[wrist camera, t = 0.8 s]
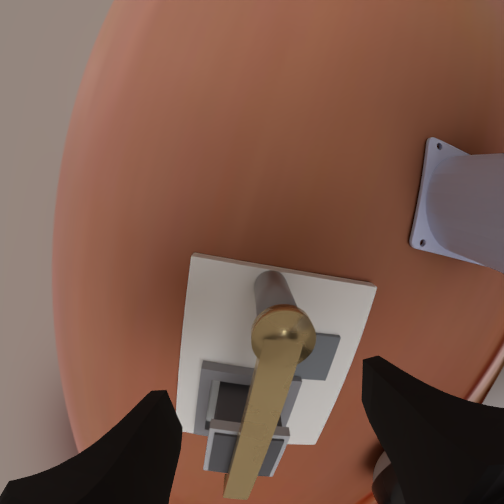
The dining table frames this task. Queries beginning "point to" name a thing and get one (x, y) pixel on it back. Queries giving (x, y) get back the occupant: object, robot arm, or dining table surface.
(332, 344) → the pad
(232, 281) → the lever mounting base
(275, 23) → the dining table surface
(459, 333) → the dining table surface
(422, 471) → the robot arm
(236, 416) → the plug
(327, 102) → the dining table surface
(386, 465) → the black rounded cone
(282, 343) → the lever handle
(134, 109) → the dining table surface
